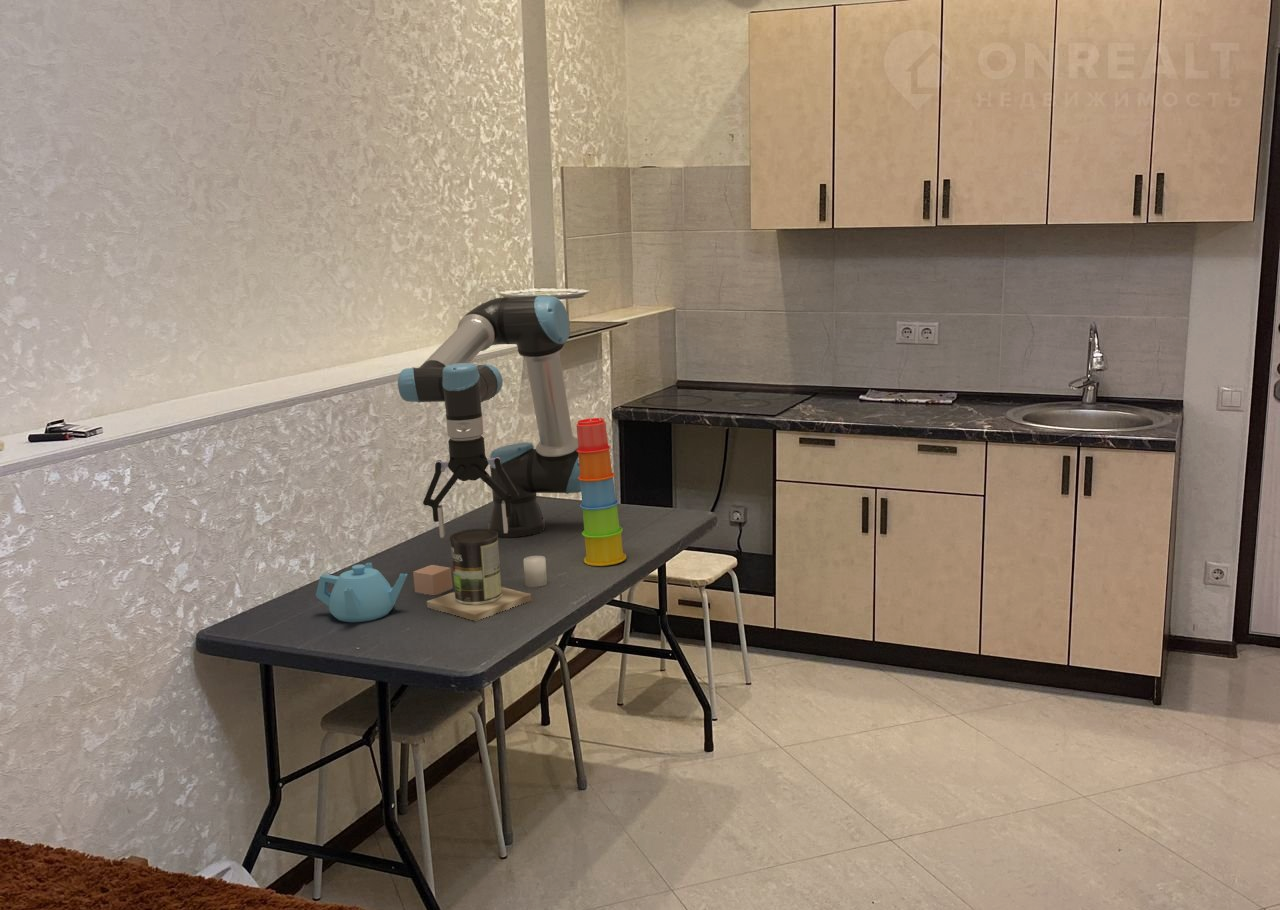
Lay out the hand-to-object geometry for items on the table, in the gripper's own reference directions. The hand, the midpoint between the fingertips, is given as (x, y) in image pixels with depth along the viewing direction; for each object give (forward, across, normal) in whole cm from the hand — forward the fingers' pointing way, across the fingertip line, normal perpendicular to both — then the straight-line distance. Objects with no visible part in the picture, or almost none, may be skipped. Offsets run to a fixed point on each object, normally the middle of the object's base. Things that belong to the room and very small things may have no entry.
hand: (474, 533), depth 252 cm
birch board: (+16, 0, 0) cm, 16 cm away
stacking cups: (+17, +28, +26) cm, 42 cm away
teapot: (+16, -25, -1) cm, 30 cm away
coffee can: (+14, 0, 0) cm, 15 cm away
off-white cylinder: (+16, +12, +12) cm, 23 cm away
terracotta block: (+16, -11, +12) cm, 23 cm away
